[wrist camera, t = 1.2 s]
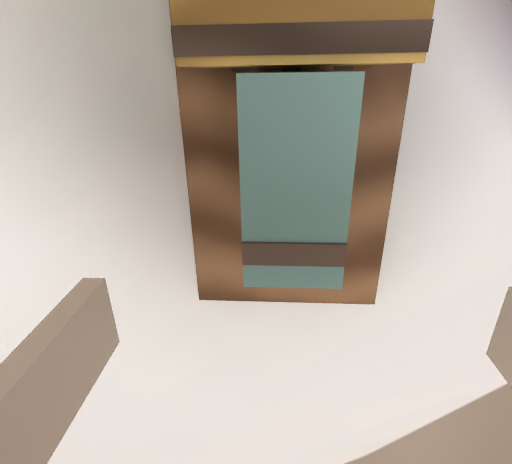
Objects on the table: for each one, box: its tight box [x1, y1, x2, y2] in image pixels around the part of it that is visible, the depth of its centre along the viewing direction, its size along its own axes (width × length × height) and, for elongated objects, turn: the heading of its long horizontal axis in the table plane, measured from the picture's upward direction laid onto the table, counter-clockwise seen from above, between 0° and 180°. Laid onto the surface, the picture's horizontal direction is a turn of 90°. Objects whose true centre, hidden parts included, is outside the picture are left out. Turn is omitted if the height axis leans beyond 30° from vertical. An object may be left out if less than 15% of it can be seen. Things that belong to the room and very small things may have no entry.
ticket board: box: [169, 0, 435, 304], centre depth 23 cm, size 26×16×10 cm, turn 1°
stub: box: [236, 71, 365, 289], centre depth 21 cm, size 10×5×11 cm, turn 1°
